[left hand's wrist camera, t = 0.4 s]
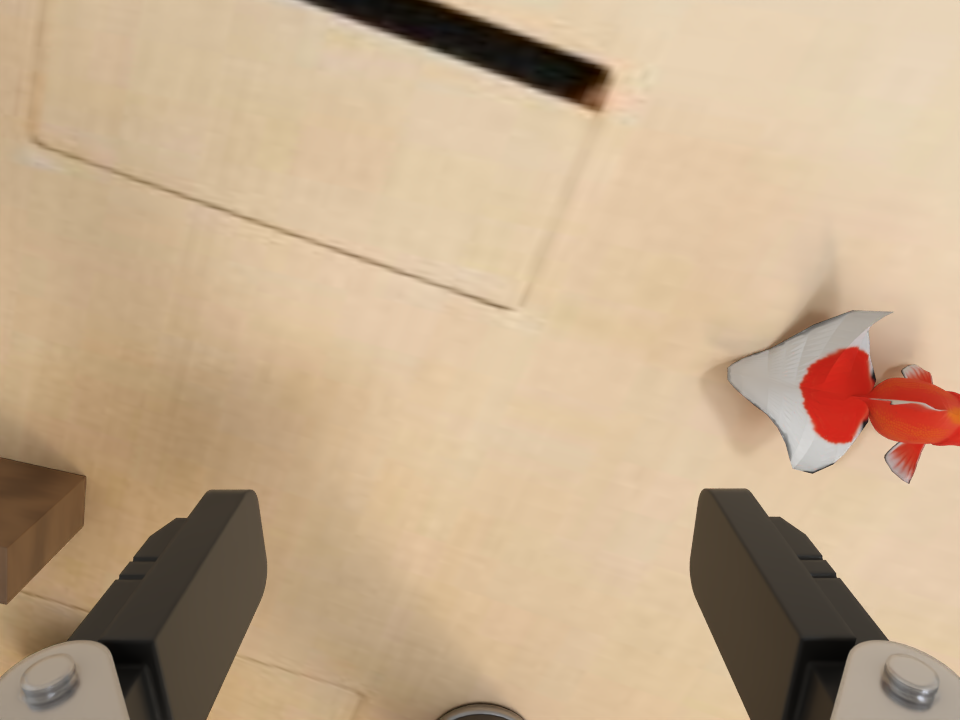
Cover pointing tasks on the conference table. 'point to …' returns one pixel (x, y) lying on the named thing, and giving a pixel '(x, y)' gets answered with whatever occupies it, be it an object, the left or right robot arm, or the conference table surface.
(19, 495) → the bar
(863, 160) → the conference table surface
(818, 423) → the fish
